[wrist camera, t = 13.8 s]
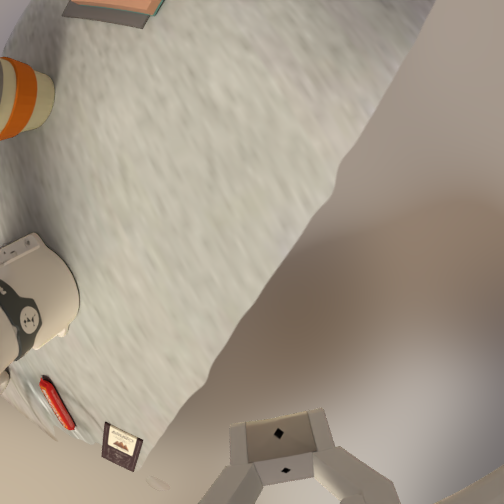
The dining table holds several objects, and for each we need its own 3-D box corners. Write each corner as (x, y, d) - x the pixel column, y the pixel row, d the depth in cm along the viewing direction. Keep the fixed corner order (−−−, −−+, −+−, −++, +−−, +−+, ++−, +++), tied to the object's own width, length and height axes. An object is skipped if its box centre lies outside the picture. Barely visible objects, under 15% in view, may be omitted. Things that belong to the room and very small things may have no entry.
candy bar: (41, 374, 54) (34, 382, 51) (52, 377, 54) (44, 385, 51) (68, 423, 59) (63, 431, 56) (79, 427, 59) (74, 435, 56)
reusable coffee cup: (64, 131, 37) (-15, 137, 22) (12, 148, 38) (-58, 159, 24) (65, 52, 33) (-8, 34, 18) (12, 77, 34) (-56, 72, 20)
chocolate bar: (101, 456, 61) (104, 423, 55) (102, 454, 62) (106, 420, 56) (133, 472, 61) (142, 441, 55) (134, 469, 62) (143, 438, 56)
